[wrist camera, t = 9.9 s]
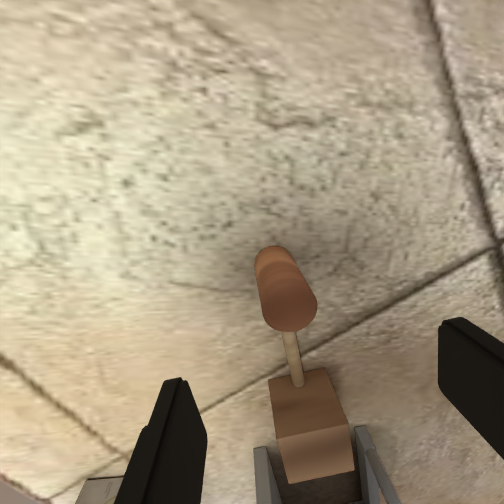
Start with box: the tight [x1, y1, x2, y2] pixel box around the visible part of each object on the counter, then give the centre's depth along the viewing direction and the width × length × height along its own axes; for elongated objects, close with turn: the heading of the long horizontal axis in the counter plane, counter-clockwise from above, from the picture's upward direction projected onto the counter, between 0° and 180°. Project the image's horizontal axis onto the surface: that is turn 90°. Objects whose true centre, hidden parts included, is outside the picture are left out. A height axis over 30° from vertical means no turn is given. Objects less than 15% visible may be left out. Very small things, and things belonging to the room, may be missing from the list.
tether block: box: [254, 246, 355, 484], centre depth 18 cm, size 17×5×6 cm, turn 12°
